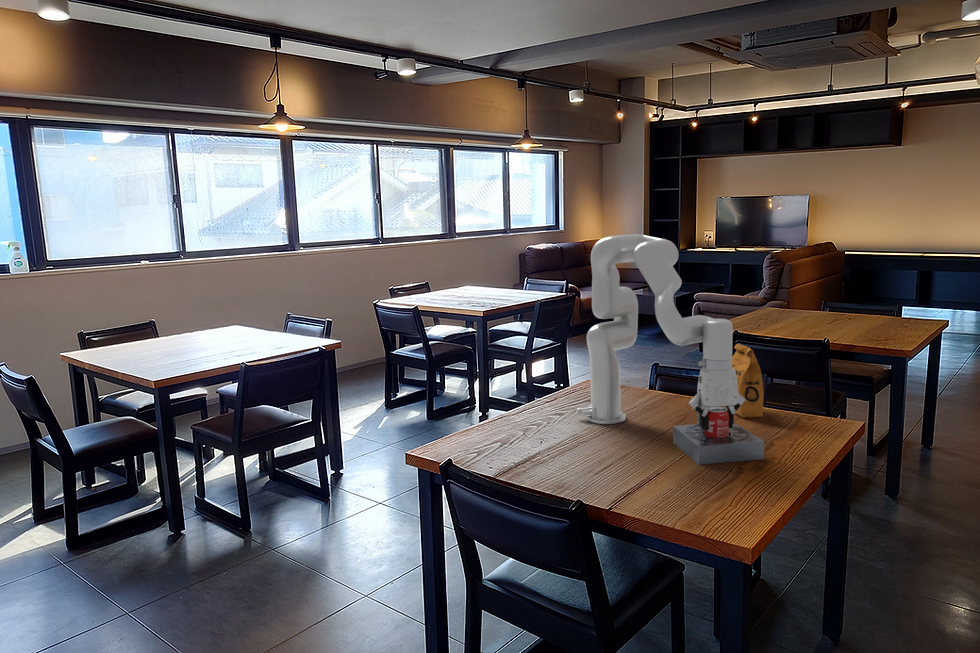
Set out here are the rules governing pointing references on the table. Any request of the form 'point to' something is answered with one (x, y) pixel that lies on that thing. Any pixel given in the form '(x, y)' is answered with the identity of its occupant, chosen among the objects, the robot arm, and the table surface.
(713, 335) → the robot arm
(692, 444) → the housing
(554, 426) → the table surface
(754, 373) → the coffee package
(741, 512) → the table surface
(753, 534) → the table surface
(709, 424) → the beverage can
